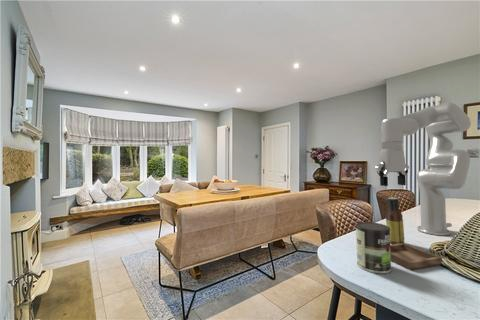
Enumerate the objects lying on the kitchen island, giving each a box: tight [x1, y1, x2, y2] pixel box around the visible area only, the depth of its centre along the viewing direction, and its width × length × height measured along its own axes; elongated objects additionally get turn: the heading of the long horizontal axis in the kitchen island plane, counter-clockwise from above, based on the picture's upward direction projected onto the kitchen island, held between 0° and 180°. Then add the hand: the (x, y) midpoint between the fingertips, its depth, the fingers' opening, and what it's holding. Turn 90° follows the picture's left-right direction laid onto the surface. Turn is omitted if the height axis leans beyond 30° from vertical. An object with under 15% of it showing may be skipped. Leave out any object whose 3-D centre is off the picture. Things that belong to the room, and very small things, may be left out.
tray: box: [390, 242, 443, 271], centre depth 81 cm, size 14×14×2 cm
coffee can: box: [355, 221, 392, 275], centre depth 76 cm, size 10×10×14 cm
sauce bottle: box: [385, 197, 405, 245], centre depth 96 cm, size 7×6×20 cm
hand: (392, 185), depth 96 cm, fingers open, 9 cm apart
